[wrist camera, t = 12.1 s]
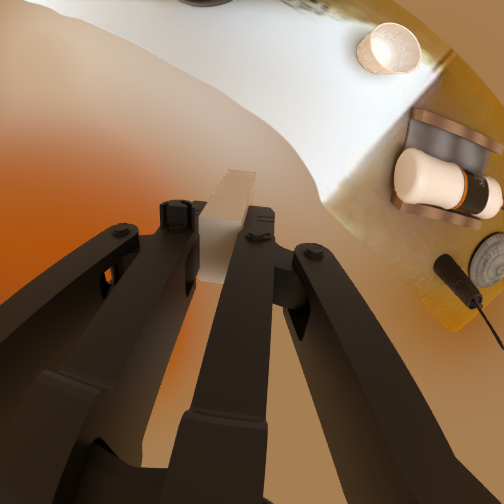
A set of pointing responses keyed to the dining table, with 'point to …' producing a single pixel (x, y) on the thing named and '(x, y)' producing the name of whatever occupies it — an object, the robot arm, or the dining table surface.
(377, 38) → the white cup
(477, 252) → the flying saucer
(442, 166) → the vodka
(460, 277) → the butter churn
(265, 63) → the dining table surface
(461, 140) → the u rest
